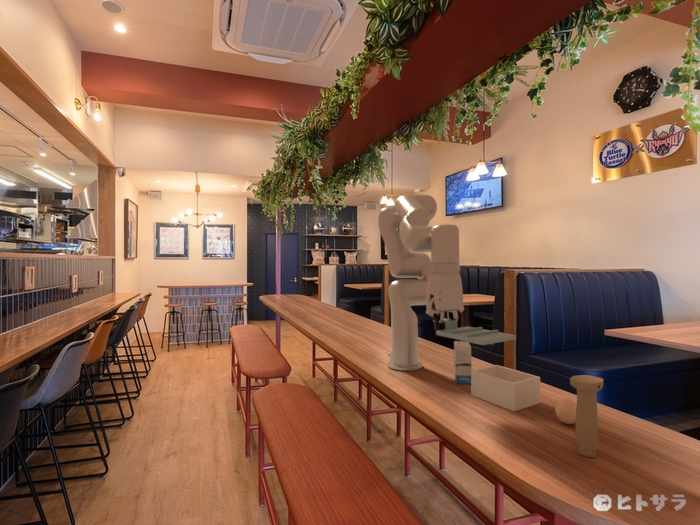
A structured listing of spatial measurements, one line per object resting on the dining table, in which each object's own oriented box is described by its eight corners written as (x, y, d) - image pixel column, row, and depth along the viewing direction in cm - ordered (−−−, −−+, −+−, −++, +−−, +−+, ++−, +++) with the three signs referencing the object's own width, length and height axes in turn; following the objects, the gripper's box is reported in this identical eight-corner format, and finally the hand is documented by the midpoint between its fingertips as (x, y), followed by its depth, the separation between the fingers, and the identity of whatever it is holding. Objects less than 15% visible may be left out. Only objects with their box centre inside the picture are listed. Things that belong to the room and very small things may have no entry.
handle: (564, 452, 77) (564, 378, 77) (585, 445, 80) (585, 373, 80) (588, 463, 73) (588, 385, 72) (609, 456, 75) (609, 380, 75)
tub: (471, 394, 110) (471, 370, 109) (496, 388, 115) (496, 364, 115) (514, 411, 98) (514, 384, 97) (540, 402, 103) (540, 377, 103)
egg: (550, 421, 92) (550, 396, 92) (565, 417, 94) (565, 393, 94) (570, 429, 87) (570, 404, 87) (585, 425, 89) (585, 400, 89)
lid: (423, 331, 104) (423, 320, 104) (454, 327, 111) (454, 317, 111) (482, 345, 87) (482, 332, 87) (516, 339, 93) (515, 326, 93)
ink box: (472, 384, 119) (472, 346, 119) (455, 383, 120) (455, 346, 120) (469, 376, 127) (469, 340, 127) (453, 375, 128) (453, 340, 128)
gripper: (456, 268, 113) (456, 331, 113) (413, 270, 104) (413, 337, 104) (476, 269, 106) (477, 335, 106) (432, 270, 98) (432, 342, 98)
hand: (445, 335), depth 105 cm, fingers closed on lid, 3 cm apart
